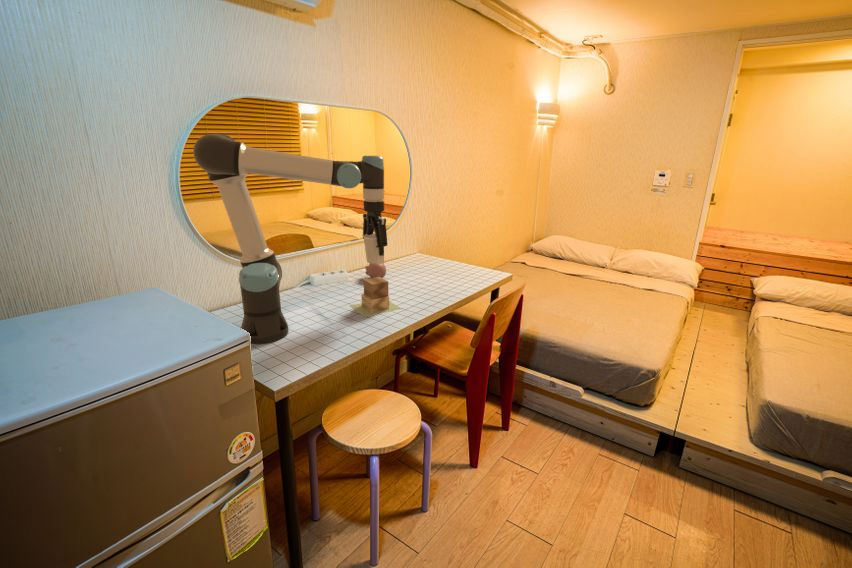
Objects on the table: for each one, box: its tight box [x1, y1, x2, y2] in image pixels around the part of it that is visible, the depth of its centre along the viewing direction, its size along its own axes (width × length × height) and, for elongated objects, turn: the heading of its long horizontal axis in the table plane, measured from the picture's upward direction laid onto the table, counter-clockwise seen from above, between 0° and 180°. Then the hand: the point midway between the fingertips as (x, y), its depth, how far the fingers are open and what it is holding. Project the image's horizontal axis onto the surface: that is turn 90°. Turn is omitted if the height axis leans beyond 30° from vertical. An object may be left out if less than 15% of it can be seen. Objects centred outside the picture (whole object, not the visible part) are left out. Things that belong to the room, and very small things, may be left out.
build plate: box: [349, 300, 402, 318], centre depth 163 cm, size 16×13×1 cm
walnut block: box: [363, 277, 389, 299], centre depth 160 cm, size 7×7×6 cm
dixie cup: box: [362, 232, 378, 264], centre depth 155 cm, size 8×8×10 cm
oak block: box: [361, 293, 390, 312], centre depth 162 cm, size 8×8×5 cm
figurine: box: [364, 263, 387, 279], centre depth 198 cm, size 9×11×12 cm
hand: (375, 260), depth 156 cm, fingers closed on dixie cup, 8 cm apart
